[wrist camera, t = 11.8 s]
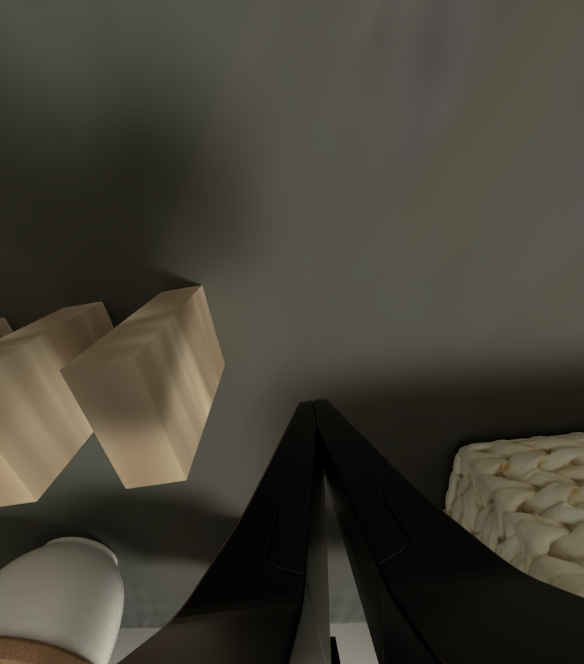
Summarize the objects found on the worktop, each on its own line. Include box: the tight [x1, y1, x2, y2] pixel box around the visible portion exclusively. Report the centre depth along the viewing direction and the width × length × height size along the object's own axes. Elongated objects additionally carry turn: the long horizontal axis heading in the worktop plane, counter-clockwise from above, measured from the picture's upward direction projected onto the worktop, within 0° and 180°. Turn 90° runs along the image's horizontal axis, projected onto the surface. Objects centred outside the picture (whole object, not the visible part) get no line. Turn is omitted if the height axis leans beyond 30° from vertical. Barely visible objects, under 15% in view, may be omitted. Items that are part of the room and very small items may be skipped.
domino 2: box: [59, 285, 225, 489], centre depth 13 cm, size 2×5×8 cm, turn 9°
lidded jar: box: [0, 537, 124, 664], centre depth 21 cm, size 11×11×9 cm
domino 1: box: [0, 301, 114, 507], centre depth 13 cm, size 2×5×8 cm, turn 9°
